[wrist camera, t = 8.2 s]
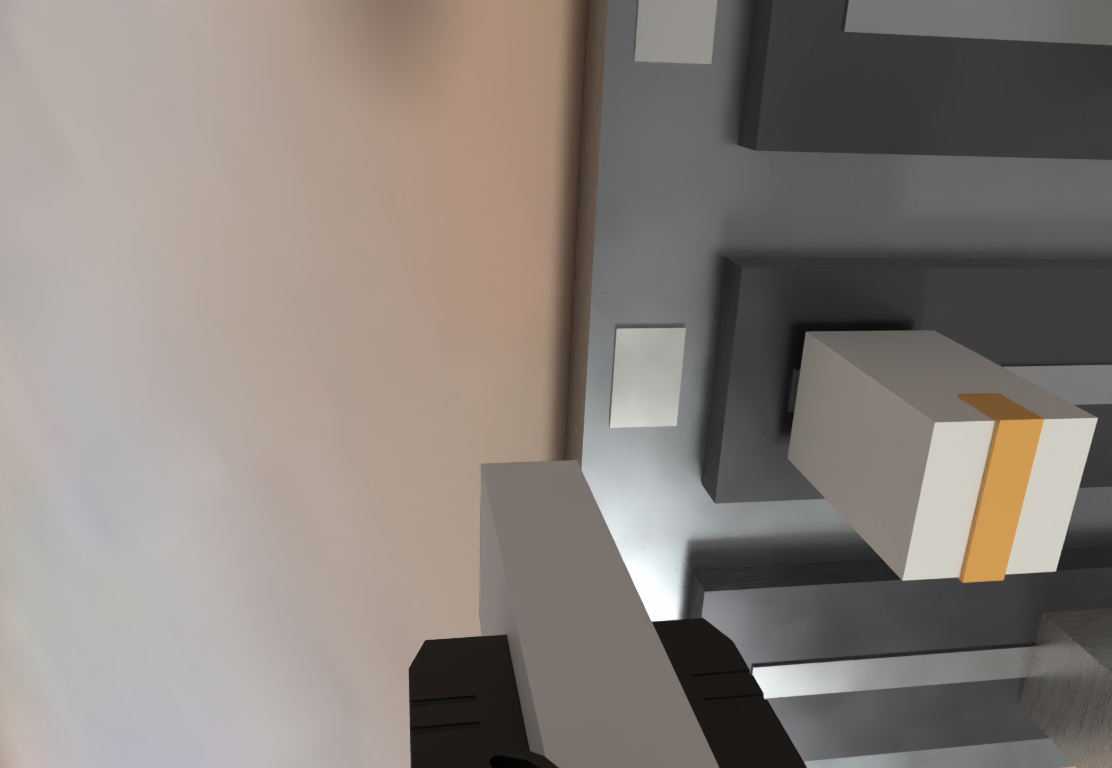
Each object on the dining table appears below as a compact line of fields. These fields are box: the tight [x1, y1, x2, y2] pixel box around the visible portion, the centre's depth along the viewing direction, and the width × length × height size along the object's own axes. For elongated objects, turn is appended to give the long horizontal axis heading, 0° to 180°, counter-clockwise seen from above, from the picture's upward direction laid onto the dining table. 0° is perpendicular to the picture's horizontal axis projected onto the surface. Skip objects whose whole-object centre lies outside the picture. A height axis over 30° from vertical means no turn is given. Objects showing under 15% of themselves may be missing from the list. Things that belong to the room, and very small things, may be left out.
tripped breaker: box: [788, 330, 1098, 583], centre depth 18 cm, size 3×3×5 cm
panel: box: [566, 0, 1112, 768], centre depth 20 cm, size 26×20×8 cm
